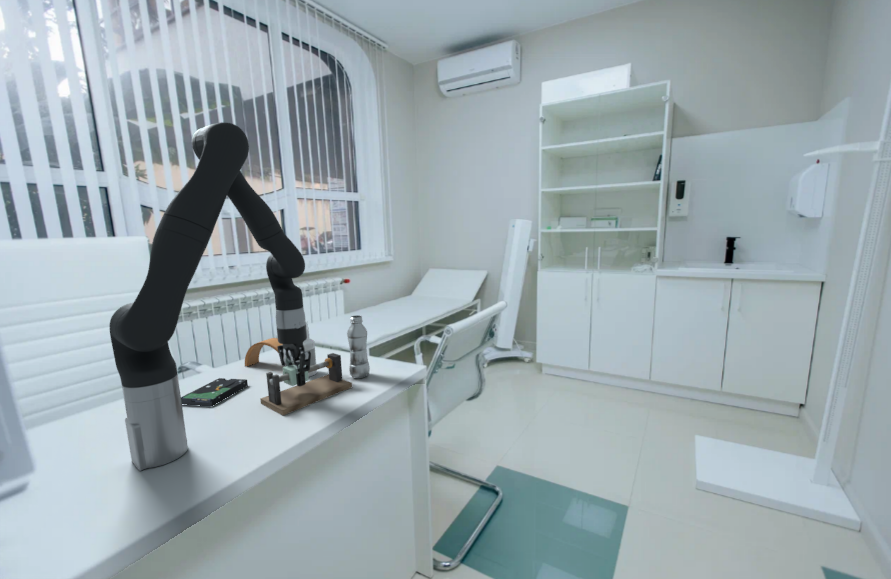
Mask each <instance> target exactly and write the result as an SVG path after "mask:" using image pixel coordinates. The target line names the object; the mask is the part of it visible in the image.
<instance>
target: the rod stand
mask: <svg viewBox="0 0 891 579" xmlns="http://www.w3.org/2000/svg"><path fill="white" fill-rule="evenodd" d="M326 357H327V358H325V359H324V361H323V362H319V363H316V365H313V366H310V370H309V371H308V373H309V372H312V371H315V370H317V371H318V370H321V369H324V368H327V370H328V374H325V375H323V376H320V377H317V378H314V379H312V380H308V381H305V382H306V384H305V385H303V386H300V387H299V386H297V385H294V386H292V387H289V388H286V389H284V390H281V383H282V382H284V381H285V380H288V379H290V377H289V373H288V374H285V375H283V374H282V375H279V374H274V373H273V372H272V371H270V372H269V371H268V372H266V376H265V377H266V383H267V393H268V395H267V396H264V397H261V398H259V399H260V404H261V405H262V406H263V407H264V406H265V407H266V408H268V409H270V410H272V411H274V412H276V413H277V414H279V415H281V416H286V415H288V414H291V413H293V412H295V411H297V410H300V409H302V408H304V407H307V406H310V405H313V404H314V403H315V404H316V403H317V402H319V401H322V400H325V399H327V398H329V397H332V396H334V395H337V394H339V393H342V392H344V390H345V391H346V390H349V389H352V388H353V382H351V381H348V380H346V379H343V370H342V357H341V354H337V353H334V352H332V353H327V356H326ZM351 387H352V388H351Z"/></svg>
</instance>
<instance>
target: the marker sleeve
mask: <svg viewBox="0 0 891 579" xmlns="http://www.w3.org/2000/svg"><path fill="white" fill-rule="evenodd" d="M299 366H300V364H299V365H298V367H299ZM305 367H306V365H305ZM288 373H289V377H290V379H288V380H285V381H283V383H284V384H286V385H288V386H292V387H294V386H297V379H296V374H297V373H296V370H295V366H293V365H289V366H286V367H285V366H282V375H285V374H288ZM309 378H310V377H308V371H306V372H305V382H308V381H310V379H309Z"/></svg>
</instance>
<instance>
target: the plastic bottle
mask: <svg viewBox="0 0 891 579" xmlns="http://www.w3.org/2000/svg"><path fill="white" fill-rule="evenodd" d="M363 322H364V320H363V316H362V315H351V316H350V326H349V327H348V329H347V332H346V336H347V341H348V346H349V347H348V348H349V354H350V355H349V357H350V359H349V371H348V372H349V375H350V376H351V377H352V378H354V379H362V378H365V377H367V376H369V374H370V370H371V367H370V362H369V358H368V350H367V347H368V346H367V342H368V330H367V328H366V327H365V326H364V324H363Z"/></svg>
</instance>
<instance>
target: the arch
mask: <svg viewBox="0 0 891 579" xmlns="http://www.w3.org/2000/svg"><path fill="white" fill-rule="evenodd" d="M280 345H283V344H280V343H279V342H278V337H271V338H267V339H265V340H262V341H259V342H256V343H254V344H252V345H251V346H250V347H249V348H248V349H247V352H246V354H245V357H244V367H245V366H248V367H250V366H249V365H251V366H253V365H256V364H258V363H260V353H261V351H262V348H263V347H264V346H268V347H270V348H271V349H273V350H274V351H275V352H277V353H278V348H277V346H280ZM257 362H258V363H257ZM255 363H256V364H255ZM252 364H253V365H252Z"/></svg>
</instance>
